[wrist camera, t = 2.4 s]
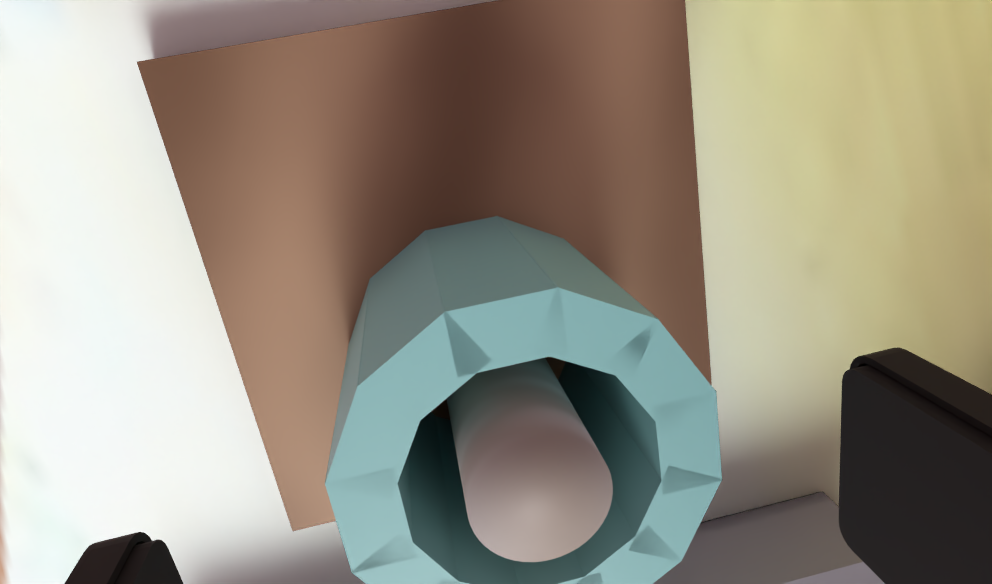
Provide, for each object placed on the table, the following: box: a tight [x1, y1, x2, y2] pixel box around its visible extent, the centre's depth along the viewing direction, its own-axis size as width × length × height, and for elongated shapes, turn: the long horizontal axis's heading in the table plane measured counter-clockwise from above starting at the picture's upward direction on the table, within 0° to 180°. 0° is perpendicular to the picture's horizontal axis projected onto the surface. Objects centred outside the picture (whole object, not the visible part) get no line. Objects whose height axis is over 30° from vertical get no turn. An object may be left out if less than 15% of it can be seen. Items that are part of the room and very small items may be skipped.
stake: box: [137, 0, 712, 562], centre depth 13 cm, size 12×12×8 cm
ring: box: [325, 216, 722, 584], centre depth 14 cm, size 7×8×6 cm
